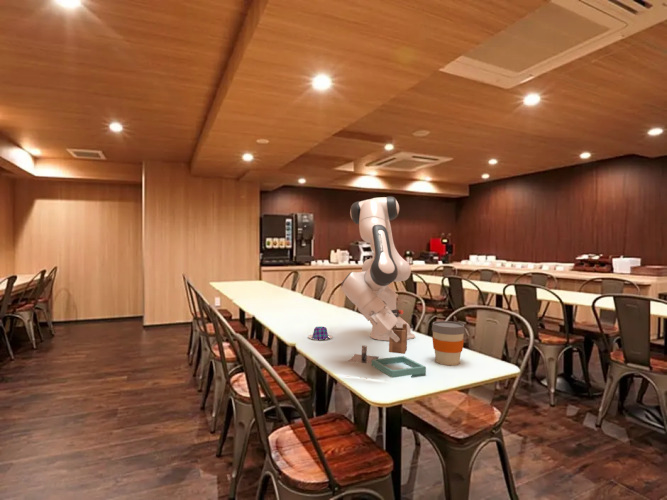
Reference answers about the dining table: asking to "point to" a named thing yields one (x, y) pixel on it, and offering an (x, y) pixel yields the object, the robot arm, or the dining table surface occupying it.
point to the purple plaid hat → (320, 333)
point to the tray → (415, 371)
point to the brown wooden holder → (402, 343)
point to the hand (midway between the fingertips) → (400, 338)
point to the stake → (363, 357)
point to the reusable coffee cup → (448, 341)
